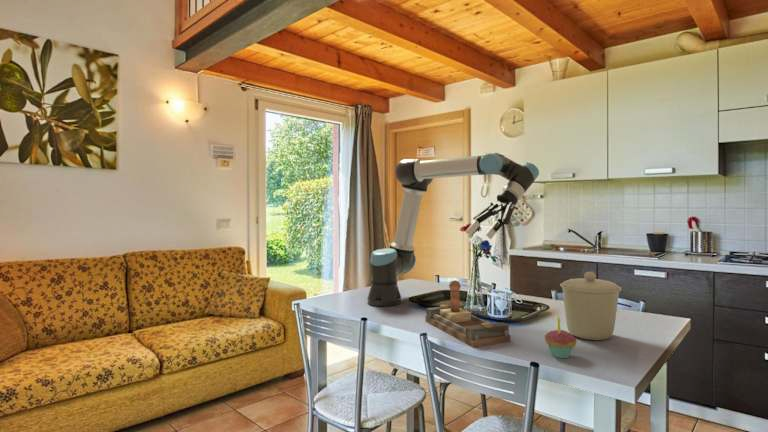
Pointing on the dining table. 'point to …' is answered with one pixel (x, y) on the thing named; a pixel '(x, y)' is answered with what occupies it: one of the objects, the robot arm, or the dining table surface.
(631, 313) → the dining table surface
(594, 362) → the dining table surface
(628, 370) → the dining table surface
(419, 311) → the dining table surface
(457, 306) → the carriage
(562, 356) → the cupcake
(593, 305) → the canister
